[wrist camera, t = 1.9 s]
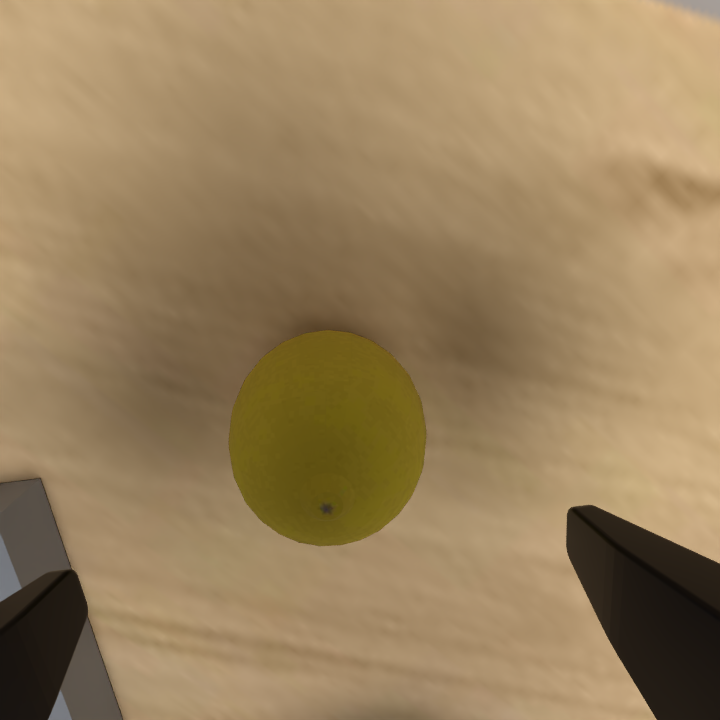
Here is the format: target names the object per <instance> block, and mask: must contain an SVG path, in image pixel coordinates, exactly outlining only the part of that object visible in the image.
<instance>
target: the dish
mask: <svg viewBox="0 0 720 720" xmlns="http://www.w3.org/2000/svg"><path fill="white" fill-rule="evenodd" d="M65 569H71V567H70V564H69V561H68V558H67V555H66V553H65V550H64V547H63V544H62V541H61V538H60V535H59V532H58V529H57V526H56V523H55V520H54V517H53V515H52V512H51V509H50V506H49V503H48V500H47V497H46V494H45V491H44V488H43V485H42V482H41V479H33V480H25V481H16V482H8V483H0V602H1V601H3V600H4V599H6V598H7V597H9V596H10V595H12V594H14V593H15V592H17V591H18V590H20V589H21V588H23V587H25V586H26V585H28V584H29V583H31V582H32V581H34V580H36V579H37V578H39V577H40V576H42V575H43V574H45V573H47V572H50V571H56V570H65ZM48 720H123V719H122V716H121V713H120V710H119V708H118V705H117V702H116V699H115V696H114V693H113V690H112V687H111V684H110V681H109V678H108V675H107V672H106V670H105V667H104V664H103V661H102V658H101V655H100V652H99V649H98V646H97V643H96V640H95V637H94V634H93V632H92V629H91V626H90V623H89V620H88V617H87V619H86V623H85V625H84V628H83V631H82V633H81V636H80V639H79V641H78V644H77V647H76V649H75V652H74V655H73V657H72V660H71V663H70V665H69V668H68V671H67V673H66V676H65V679H64V681H63V684H62V687H61V689H60V692H59V695H58V697H57V700H56V702H55V705H54V707H53V710H52V712H51V714H50V717H49V719H48Z"/></svg>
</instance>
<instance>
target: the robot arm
mask: <svg viewBox="0 0 720 720" xmlns="http://www.w3.org/2000/svg"><path fill="white" fill-rule="evenodd" d="M566 547H567V553H568V556H569V559H570V561H571V563H572V565H573V567H574V569H575V571H576V573H577V575H578V578H579V580H580V582H581V584H582V586H583V588H584V590H585V592H586V594H587V596H588V598H589V600H590V603H591V605H592V607H593V609H594V611H595V613H596V615H597V617H598V619H599V621H600V623H601V625H602V627H603V629H604V631H605V633H606V635H607V637H608V639H609V641H610V643H611V644H612V646H613V648H614V650H615V651H616V653H617V655H618V656H619V658H620V660H621V661H622V663H623V665H624V666H625V668H626V670H627V671H628V673H629V675H630V676H631V678H632V679H633V681H634V683H635V684H636V686H637V688H638V689H639V691H640V693H641V694H642V696H643V698H644V699H645V701H646V702H647V704H648V706H649V707H650V709H651V711H652V712H653V714H654V716H655V717H656V719H657V720H720V563H717V562H715V561H713V560H711V559H709V558H706V557H704V556H702V555H700V554H698V553H696V552H693V551H691V550H689V549H687V548H685V547H683V546H680V545H678V544H676V543H674V542H672V541H670V540H667V539H665V538H663V537H661V536H659V535H656V534H654V533H652V532H650V531H648V530H646V529H643V528H641V527H639V526H637V525H635V524H633V523H630V522H628V521H626V520H624V519H622V518H619V517H617V516H615V515H613V514H611V513H609V512H606V511H604V510H602V509H600V508H598V507H596V506H593V505H584V506H576V507H571V508H570V509H569V510H568V513H567V535H566ZM87 615H88V606H87V602H86V599H85V596H84V593H83V590H82V587H81V584H80V581H79V578H78V575H77V573H76V572H75V571H74V570H71V569H65V570H56V571H50V572H47V573H45V574H43V575H42V576H40V577H39V578H37V579H36V580H34V581H32V582H31V583H29V584H28V585H26V586H25V587H23V588H21V589H20V590H18V591H17V592H15V593H14V594H12V595H10V596H9V597H7V598H6V599H4V600H3V601H1V602H0V720H48V719H49V717H50V714H51V712H52V710H53V707H54V705H55V702H56V700H57V697H58V695H59V692H60V689H61V687H62V684H63V681H64V679H65V676H66V673H67V671H68V668H69V665H70V663H71V660H72V657H73V655H74V652H75V649H76V647H77V644H78V641H79V639H80V636H81V633H82V631H83V628H84V625H85V623H86V619H87Z"/></svg>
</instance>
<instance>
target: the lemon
mask: <svg viewBox="0 0 720 720" xmlns="http://www.w3.org/2000/svg"><path fill="white" fill-rule="evenodd" d="M425 445H426V426H425V420H424V414H423V408H422V403H421V400H420V397H419V395H418V393H417V391H416V389H415V386H414V384H413V382H412V380H411V378H410V376H409V374H408V373H407V372H406V371H405V369H404V368H403V367H402V366H401V365H400V364H399V363H398V361H397V360H396V359H395V358H394V357H393V356H392V355H391V354H390V353H389V352H387V351H386V350H384V349H383V348H382V347H380V346H379V345H377V344H376V343H374V342H373V341H371V340H369V339H366V338H364V337H361V336H358V335H355V334H353V333H350V332H342V331H332V330H324V331H317V332H310V333H304V334H302V335H300V336H297V337H295V338H292V339H290V340H287V341H285V342H283V343H281V344H280V345H278V346H277V347H276V348H274V349H273V350H272V351H270V352H269V353H268V354H266V355H265V356H264V357H263V358H262V359H261V360H260V361H259V362H258V363H257V365H256V366H255V367H254V369H253V370H252V371H251V372H250V374H249V375H248V376H247V378H246V379H245V381H244V383H243V385H242V387H241V390H240V392H239V395H238V397H237V399H236V402H235V404H234V407H233V410H232V416H231V424H230V433H229V452H230V457H231V463H232V469H233V474H234V478H235V480H236V483H237V485H238V487H239V489H240V491H241V493H242V495H243V498H244V500H245V502H246V503H247V505H248V506H249V507H250V508H251V509H252V511H253V512H254V513H255V514H256V515H257V517H258V518H259V519H260V520H261V521H262V522H263V523H265V524H266V525H268V526H269V527H270V528H272V529H273V530H275V531H276V532H277V533H279V534H280V535H283V536H285V537H287V538H290V539H292V540H295V541H297V542H300V543H305V544H311V545H317V546H332V545H343V544H347V543H351V542H355V541H359V540H362V539H364V538H366V537H368V536H370V535H371V534H373V533H375V532H377V531H379V530H380V529H382V528H383V527H384V526H385V525H386V524H388V523H389V522H390V521H391V520H392V519H393V518H395V517H396V516H397V515H398V514H399V513H400V511H401V510H402V509H403V507H404V506H405V505H406V503H407V502H408V500H409V499H410V498H411V496H412V494H413V492H414V490H415V487H416V485H417V482H418V480H419V477H420V475H421V472H422V469H423V464H424V455H425Z"/></svg>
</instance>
